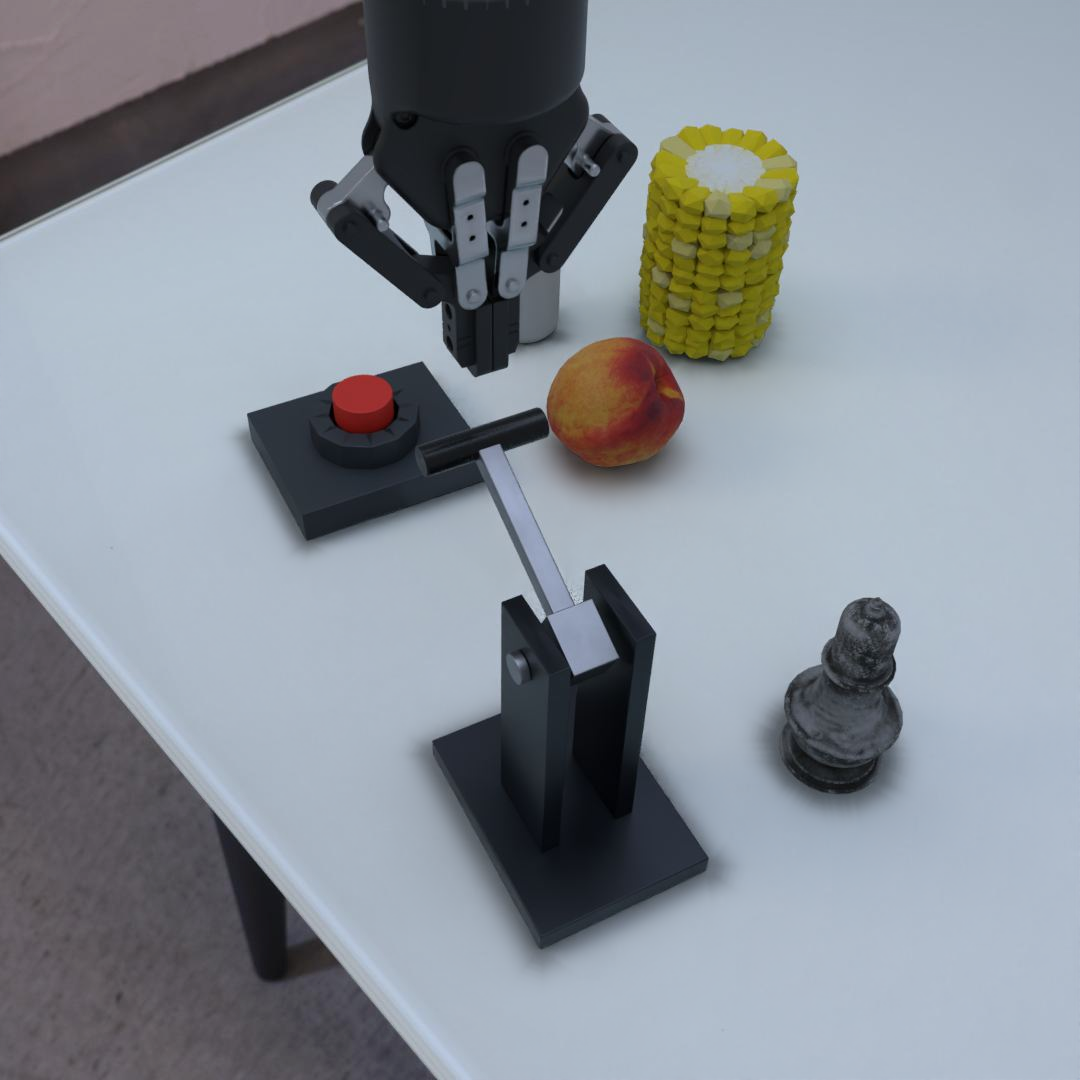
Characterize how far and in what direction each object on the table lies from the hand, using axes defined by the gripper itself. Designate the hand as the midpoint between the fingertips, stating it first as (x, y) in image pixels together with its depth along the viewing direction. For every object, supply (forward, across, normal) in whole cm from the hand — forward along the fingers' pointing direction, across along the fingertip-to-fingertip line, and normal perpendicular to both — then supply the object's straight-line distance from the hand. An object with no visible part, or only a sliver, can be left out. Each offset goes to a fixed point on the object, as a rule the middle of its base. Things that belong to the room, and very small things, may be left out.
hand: (480, 361), depth 55 cm
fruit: (+22, -15, -13) cm, 29 cm away
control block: (+22, -1, -19) cm, 29 cm away
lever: (+8, 0, +4) cm, 9 cm away
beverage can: (+22, -16, -27) cm, 38 cm away
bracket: (+22, 0, +9) cm, 24 cm away
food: (+22, -27, -21) cm, 41 cm away
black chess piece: (+22, -14, +12) cm, 29 cm away
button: (+18, -1, -19) cm, 26 cm away
